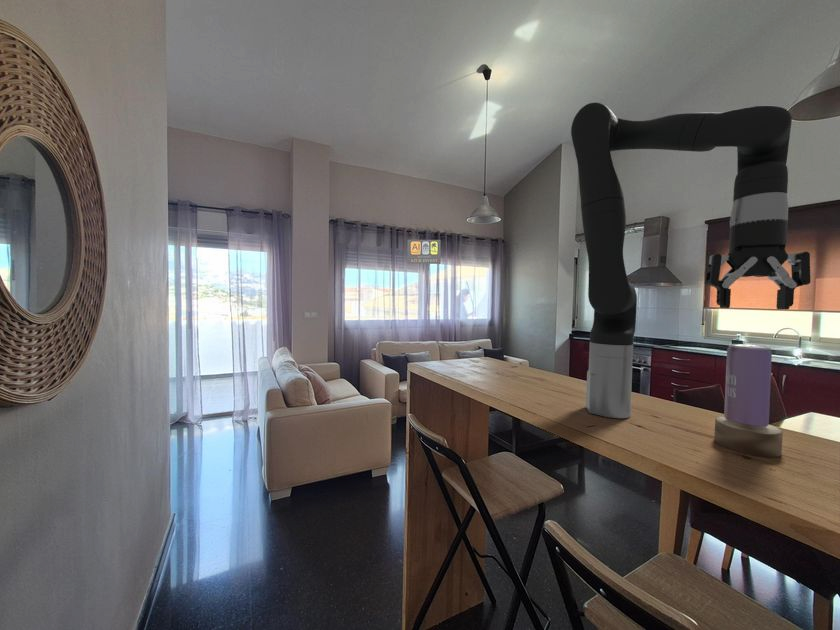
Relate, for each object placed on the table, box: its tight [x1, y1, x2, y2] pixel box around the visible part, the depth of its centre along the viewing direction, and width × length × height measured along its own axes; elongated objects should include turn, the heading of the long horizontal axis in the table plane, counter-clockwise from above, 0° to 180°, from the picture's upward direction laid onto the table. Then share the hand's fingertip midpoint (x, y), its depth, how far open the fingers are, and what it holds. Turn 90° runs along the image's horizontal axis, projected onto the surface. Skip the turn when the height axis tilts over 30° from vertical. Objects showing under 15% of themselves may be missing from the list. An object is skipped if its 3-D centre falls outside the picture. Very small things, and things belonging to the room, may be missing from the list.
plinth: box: [713, 416, 784, 458], centre depth 62 cm, size 9×9×4 cm
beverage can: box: [723, 343, 773, 429], centre depth 62 cm, size 6×6×15 cm
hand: (753, 308), depth 62 cm, fingers open, 8 cm apart
